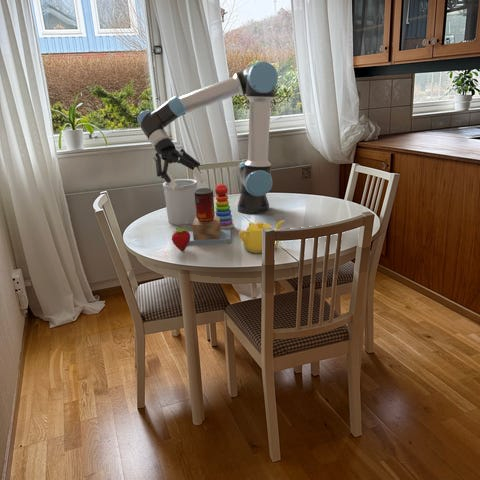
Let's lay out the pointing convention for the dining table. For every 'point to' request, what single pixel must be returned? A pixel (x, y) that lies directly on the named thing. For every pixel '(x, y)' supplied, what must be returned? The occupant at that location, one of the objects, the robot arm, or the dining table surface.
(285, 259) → the dining table surface
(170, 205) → the utensil holder
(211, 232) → the block
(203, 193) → the jam jar
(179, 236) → the strawberry
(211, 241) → the base board
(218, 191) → the stacking toy
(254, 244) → the teapot
